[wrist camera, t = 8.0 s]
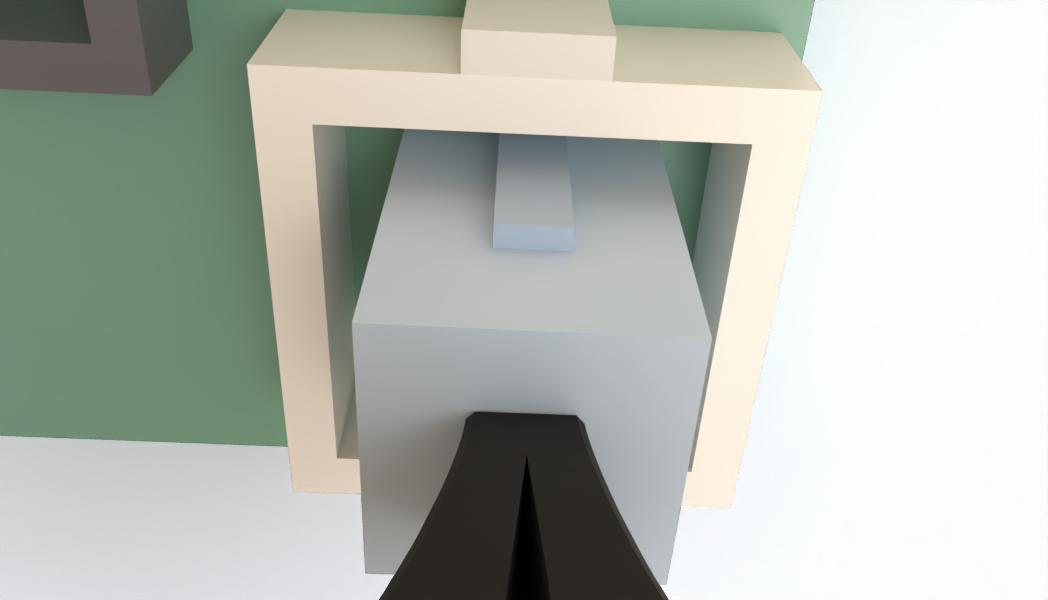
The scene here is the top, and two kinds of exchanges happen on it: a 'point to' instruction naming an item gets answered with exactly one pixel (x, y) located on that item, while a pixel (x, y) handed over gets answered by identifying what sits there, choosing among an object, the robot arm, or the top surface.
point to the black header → (92, 45)
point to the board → (202, 231)
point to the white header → (523, 108)
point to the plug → (527, 322)
